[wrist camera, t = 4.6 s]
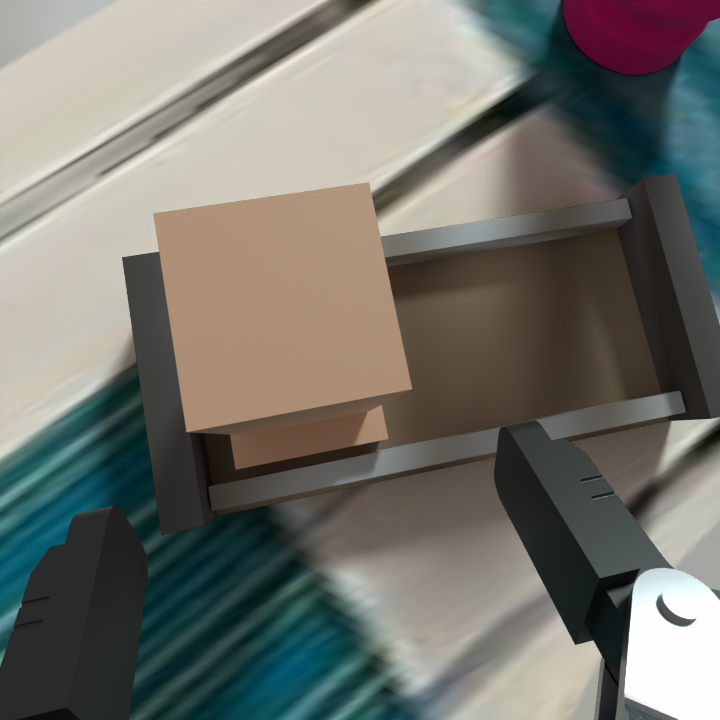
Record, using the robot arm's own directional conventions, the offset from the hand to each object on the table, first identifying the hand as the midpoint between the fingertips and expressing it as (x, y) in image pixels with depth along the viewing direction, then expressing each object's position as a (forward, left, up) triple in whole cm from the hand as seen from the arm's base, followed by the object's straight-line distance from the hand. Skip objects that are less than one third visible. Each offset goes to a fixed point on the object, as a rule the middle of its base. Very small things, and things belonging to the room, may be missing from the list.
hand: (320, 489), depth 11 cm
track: (-5, -4, -9) cm, 11 cm away
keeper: (0, -4, -8) cm, 9 cm away
